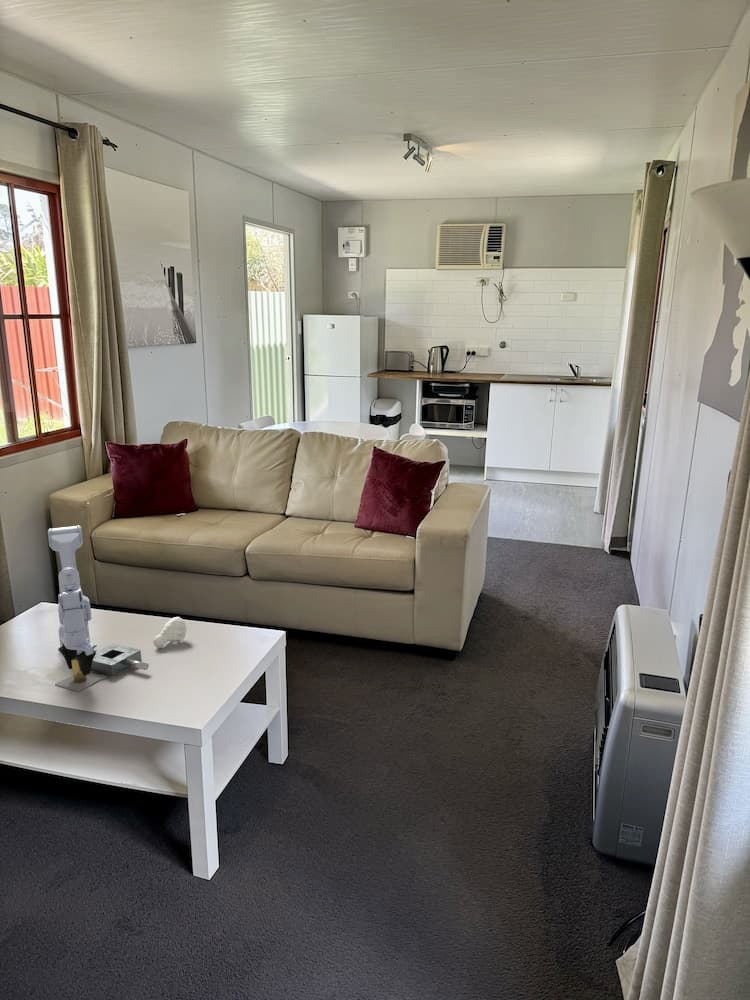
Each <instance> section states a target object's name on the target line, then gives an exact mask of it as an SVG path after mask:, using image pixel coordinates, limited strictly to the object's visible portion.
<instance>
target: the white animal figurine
mask: <svg viewBox="0 0 750 1000" xmlns="http://www.w3.org/2000/svg"><path fill="white" fill-rule="evenodd" d="M187 628H188V627H187V625H186V621H185V620H184V619H183V618H181V617H180V616H176V617H175V616H174V617H172V618H170V619H169V620H168V621H167V622H166V623H165V624H164V626H163V628H162V629H161V631H160V633H159V634H157V635H156V636H155V637H154V638H153V640H152V643H153V645H154V647H156V649H158V650H159V649H163V648H164V646H165V644H166V643H168V642H173V641H176V642H177V641H179V643H180V644H184V640H185V639H186V633H187Z"/></svg>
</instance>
